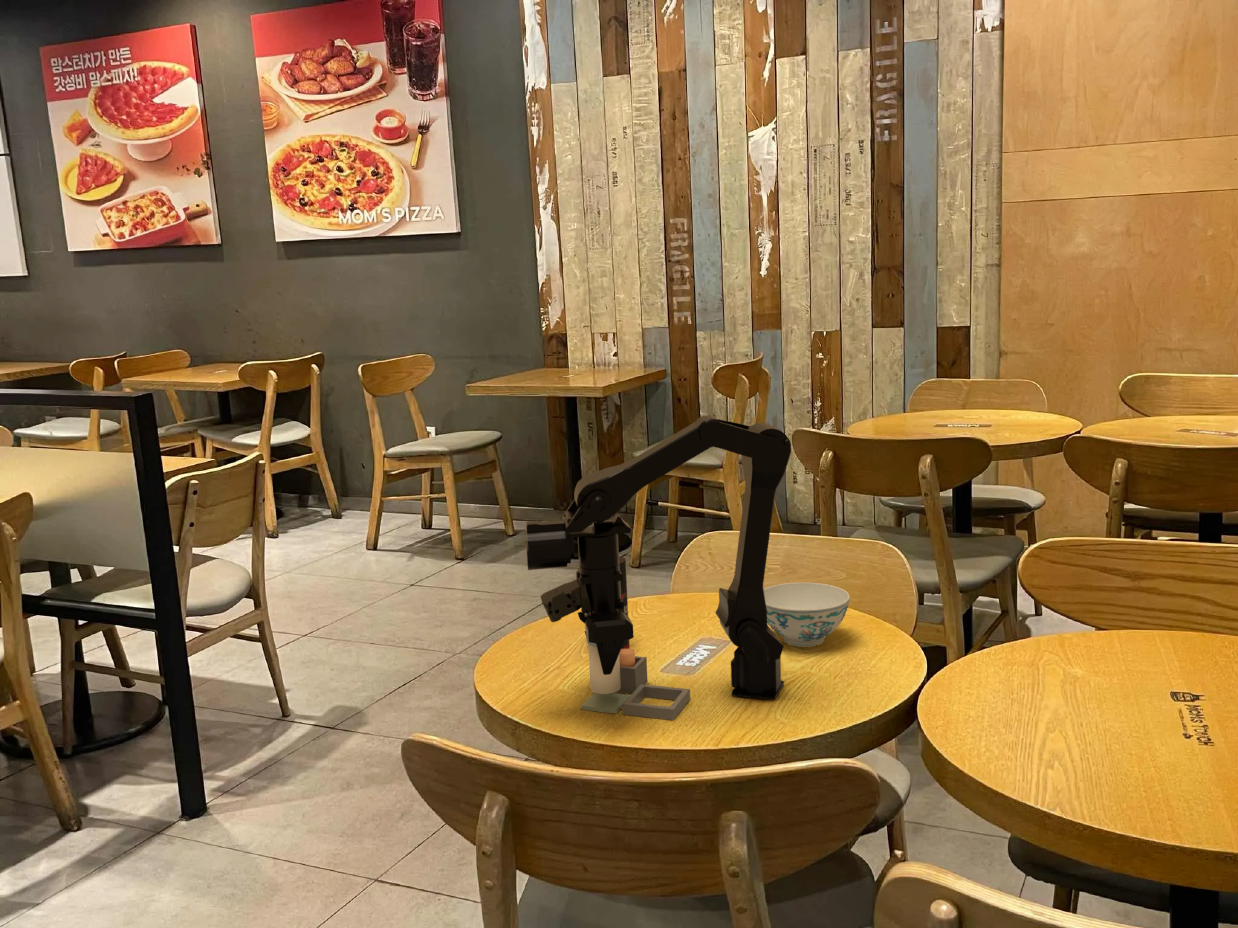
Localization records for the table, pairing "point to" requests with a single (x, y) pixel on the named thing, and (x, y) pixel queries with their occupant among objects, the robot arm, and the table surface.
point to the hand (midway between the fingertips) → (604, 668)
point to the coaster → (605, 702)
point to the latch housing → (633, 675)
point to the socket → (656, 711)
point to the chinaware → (805, 611)
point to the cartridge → (597, 678)
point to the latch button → (627, 657)
